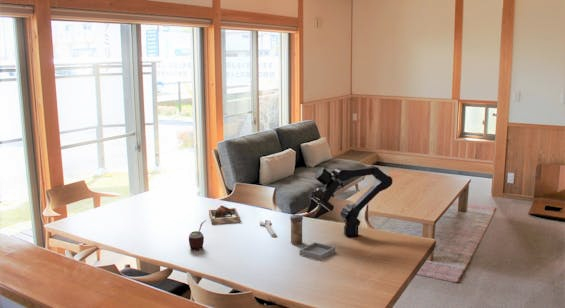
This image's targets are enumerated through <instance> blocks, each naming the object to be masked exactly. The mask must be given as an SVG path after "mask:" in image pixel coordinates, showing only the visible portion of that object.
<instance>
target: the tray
mask: <svg viewBox="0 0 565 308" xmlns="http://www.w3.org/2000/svg"><path fill="white" fill-rule="evenodd" d="M334 253H336V246H334V245H328V244H324V243H320V242H315V241H314V242H312V243H311V244H309V245H307V246H305V247H303V248H301V249H299V256H302V255H303V257H306V256H308V257H307V258H310V257H311V258H310V259H314V258H315V259H314V260H317V259H318V261H322V260H324V259H326V258H328V257H330V256H331V255H333V254H334Z"/></svg>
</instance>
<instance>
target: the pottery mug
mask: <svg viewBox="0 0 565 308" xmlns="http://www.w3.org/2000/svg"><path fill="white" fill-rule="evenodd" d="M229 208H230V207H226V206H224V205H220V206H219V207H217V211H216V213H215V215H214V218H225V217H226V215H230V217H233V214H232V210H231V209H229ZM220 211H221V212H220ZM227 213H229V214H227Z"/></svg>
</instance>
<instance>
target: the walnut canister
mask: <svg viewBox="0 0 565 308" xmlns="http://www.w3.org/2000/svg"><path fill="white" fill-rule="evenodd" d="M289 218H290V244H291V243H292V244H291V245H293V244H294V245H295V246H299V245H298V244H300V245H302V244H303V220H304V217H303V215H301V214H292V215H290V217H289Z"/></svg>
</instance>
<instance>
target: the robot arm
mask: <svg viewBox="0 0 565 308" xmlns="http://www.w3.org/2000/svg"><path fill="white" fill-rule="evenodd" d="M371 175H372V176H373V177H374V178H375V179H374V180H373V184H372V186H370V188H369V189H367V190H366V191H365V192H364V193H363V194H362V195H361V196H360V197H359V198H358V199H357V200H356V201H355V202H354V203H352V204H349V203H347V204H346V205H345V206H344V207H342V208H341V211H340V218H341V219H342V220H343V222H344V226H343V235H345V236H346V237H347V238H356V237H357V238H358V237H360V234H359V226H360V225H361V220H359V219H358V218H359V215H360V212H361V210H363V209H364V208H365V207H366V206H367V205H368V204H369V203H370V201H372V200H373V199H374V198H375V197H376V196H377V195H378V194H379V193H380V192H382V191H385V190H387V189H388V188H390V187H391V186H392V185H393V178H392V176H391V175H387V174H386V173H384V171H382V170H381V169H380V168H379V167H378V166H375V165H371V166H363V167H353V168H348V167H337V168H335V169H334V170H331V171H328V170H327V169H326V168H325V167H321V169H319V170H317V171H316V172H315V174H314V177H313V178H314V179H315V180H316V181H318V182H319V183H320V184H322V185H323V186H324V187H321V188H319V187H317V188H316V187H312V186H310V189H309V191H308V193H309V194H308V199H309V204H308V207H307V210H306V213H307V214H310V213H311V212H312V211H314V210H315V209H316V208H317V207H318V209H317V211H316V213H315V215H314V216H313V217H314V219H316V220H317V218H319V217H322V216H323V215H325V214H327V213H330V212H333V210H335V209H334V208H335V207H334V204H332V203H330V200H331V199H332V198H334V197H335V195H334V194H335V193H336V192H337V191H338V189H339V188H342V189H344V183H343V182H345V181H348V180H351V179H352V178H356V177H366V176H371Z"/></svg>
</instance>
